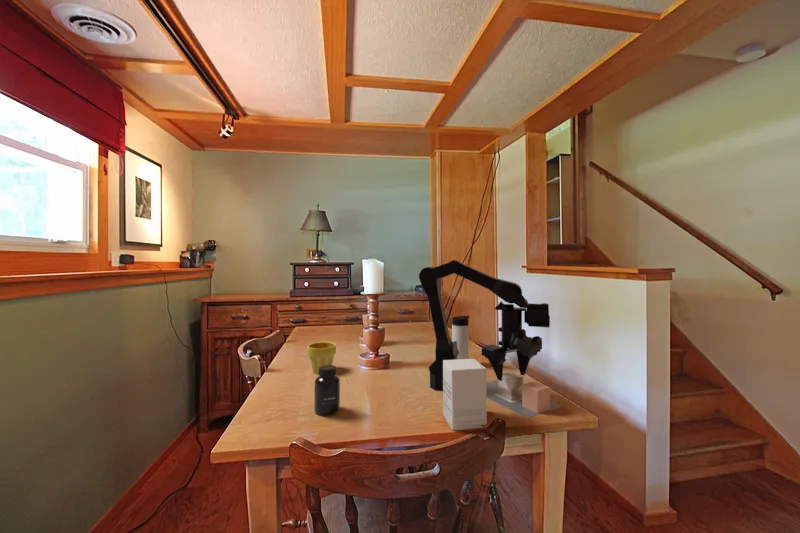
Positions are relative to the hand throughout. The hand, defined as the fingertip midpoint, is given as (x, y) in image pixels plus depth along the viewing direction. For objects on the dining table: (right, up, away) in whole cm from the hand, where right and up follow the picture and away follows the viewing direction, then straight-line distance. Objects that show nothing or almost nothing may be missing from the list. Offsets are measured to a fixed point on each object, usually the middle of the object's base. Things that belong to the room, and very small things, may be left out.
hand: (511, 377), depth 101 cm
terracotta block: (+4, -6, -8) cm, 10 cm away
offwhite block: (0, -6, 0) cm, 6 cm away
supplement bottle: (-53, -7, -7) cm, 54 cm away
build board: (0, -7, 0) cm, 7 cm away
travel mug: (-10, -6, +30) cm, 32 cm away
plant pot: (-62, -6, +27) cm, 68 cm away
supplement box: (-17, -7, -13) cm, 23 cm away
